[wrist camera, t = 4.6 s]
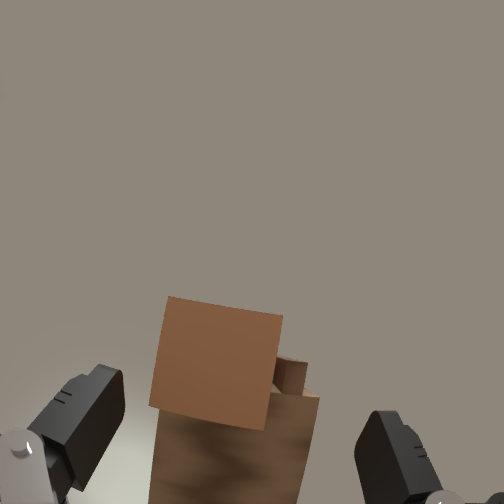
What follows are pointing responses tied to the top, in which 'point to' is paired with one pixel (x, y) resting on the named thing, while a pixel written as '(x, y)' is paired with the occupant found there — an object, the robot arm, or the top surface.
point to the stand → (238, 450)
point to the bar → (216, 363)
